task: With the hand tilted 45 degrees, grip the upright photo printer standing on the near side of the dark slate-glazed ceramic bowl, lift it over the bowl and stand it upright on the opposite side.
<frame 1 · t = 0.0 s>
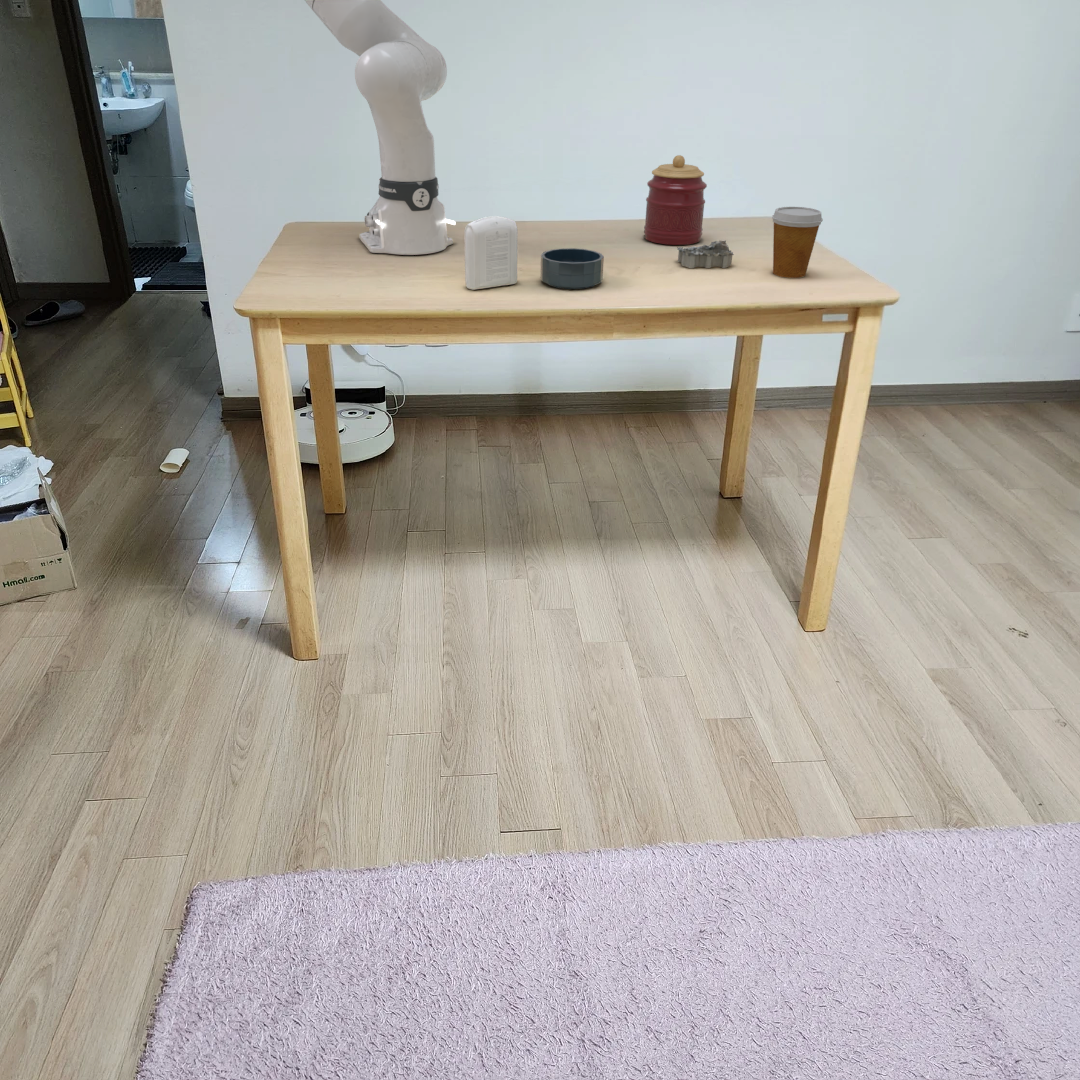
disposable coffee cup: (788, 275, 185), on the table
grey packaging insert: (704, 265, 191), on the table
bowl: (571, 282, 178), on the table
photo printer: (491, 286, 175), on the table
kitchen canister: (672, 240, 210), on the table
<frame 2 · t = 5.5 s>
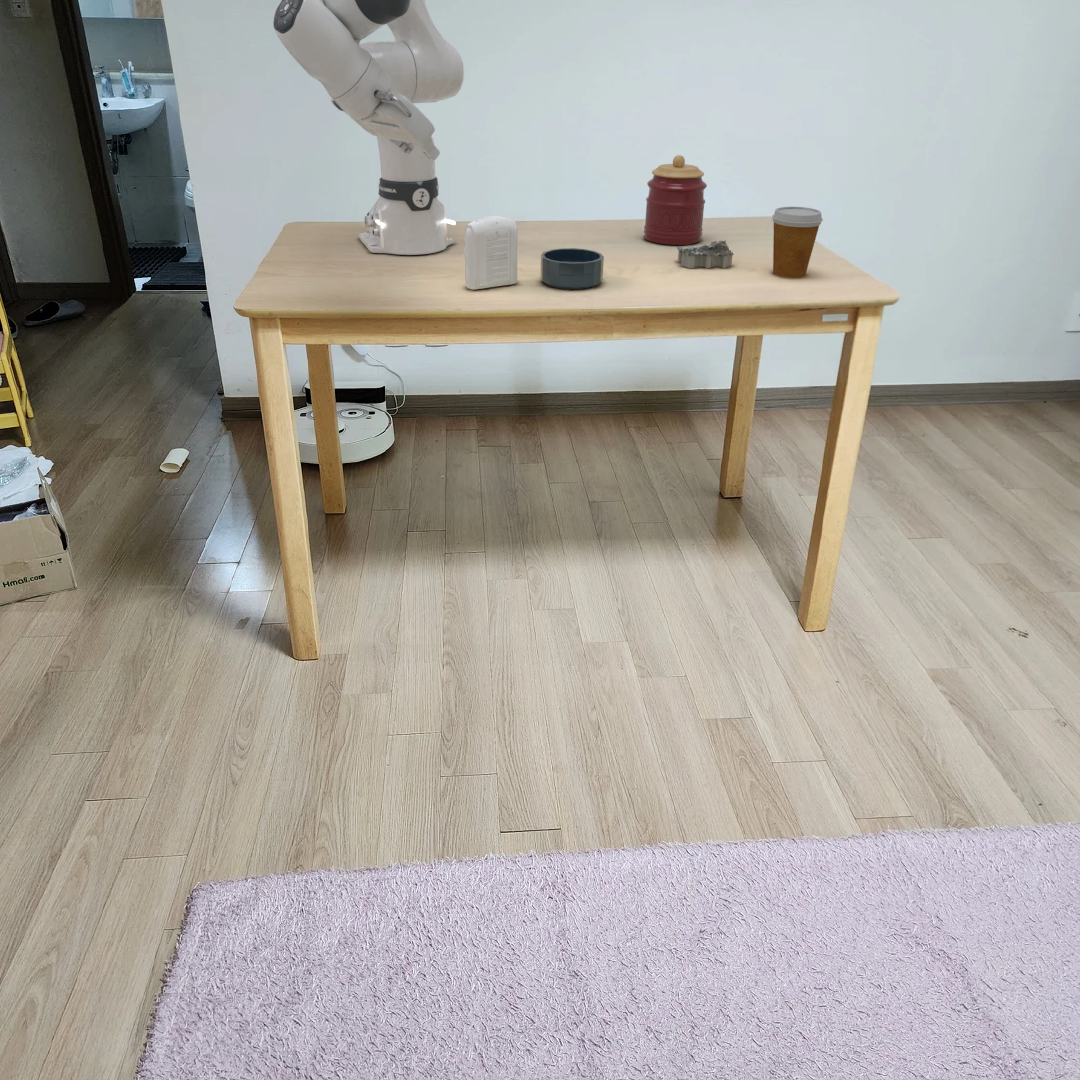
hand: (422, 153, 157), 24 cm above the table, tool tilted 45°, fingers open, 8 cm apart
nothing on the table moved.
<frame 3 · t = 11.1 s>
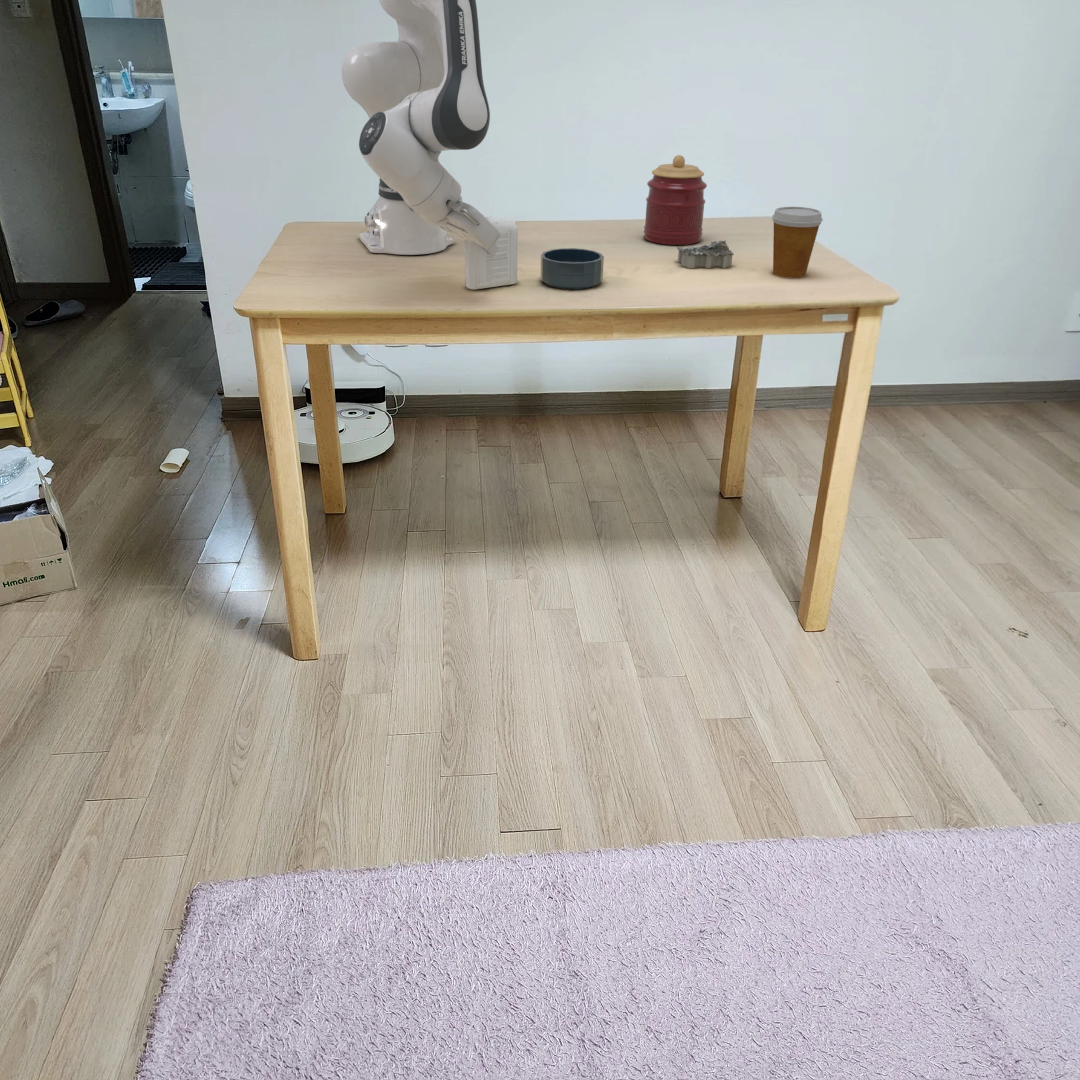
hand: (487, 248, 171), 7 cm above the table, tool tilted 45°, fingers closed on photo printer, 4 cm apart
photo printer: (491, 286, 175), on the table, touching gripper
everything else where it was.
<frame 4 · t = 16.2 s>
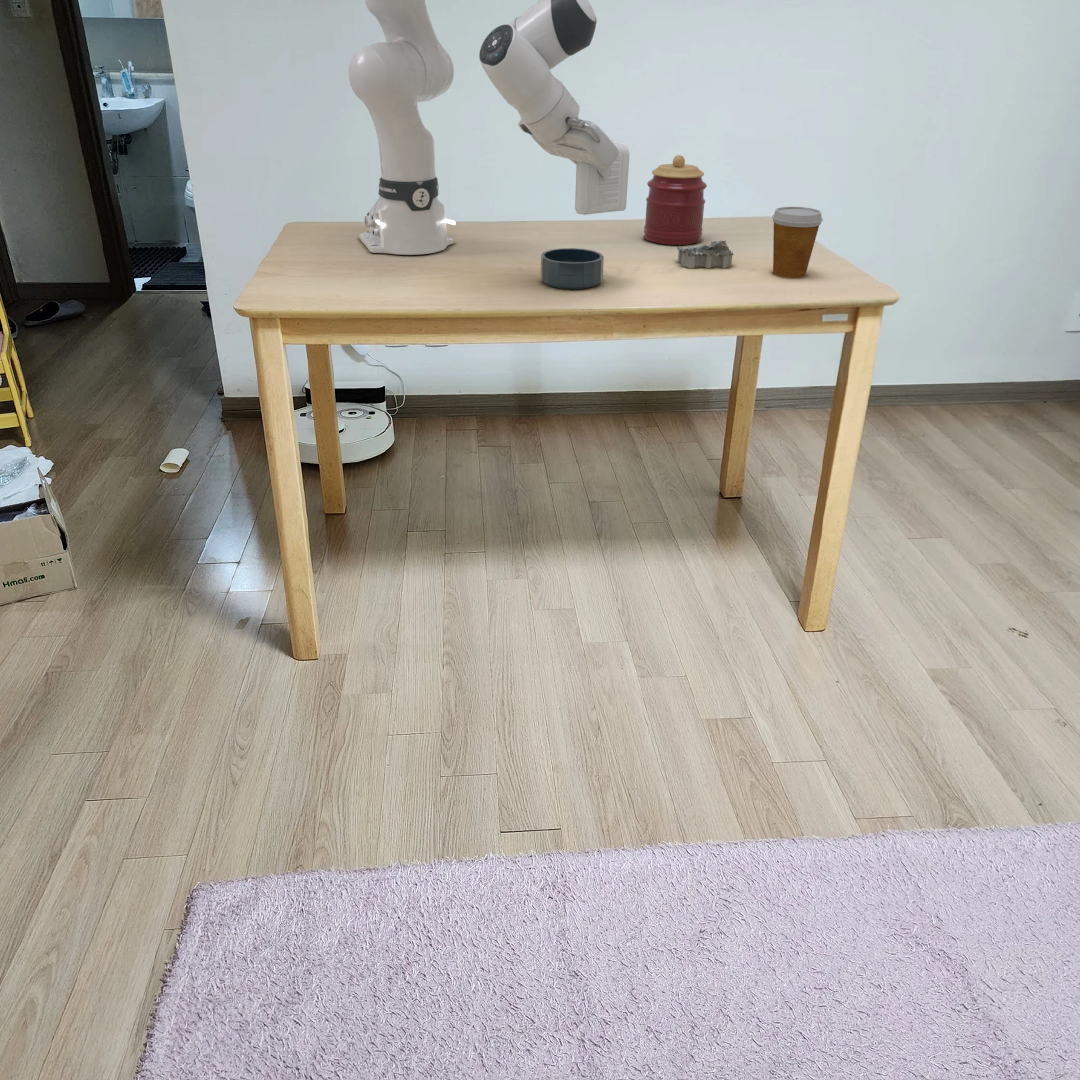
hand: (598, 172, 169), 20 cm above the table, tool tilted 45°, fingers closed on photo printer, 4 cm apart
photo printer: (600, 213, 173), point 12 cm above the table, touching gripper
everything else where it was.
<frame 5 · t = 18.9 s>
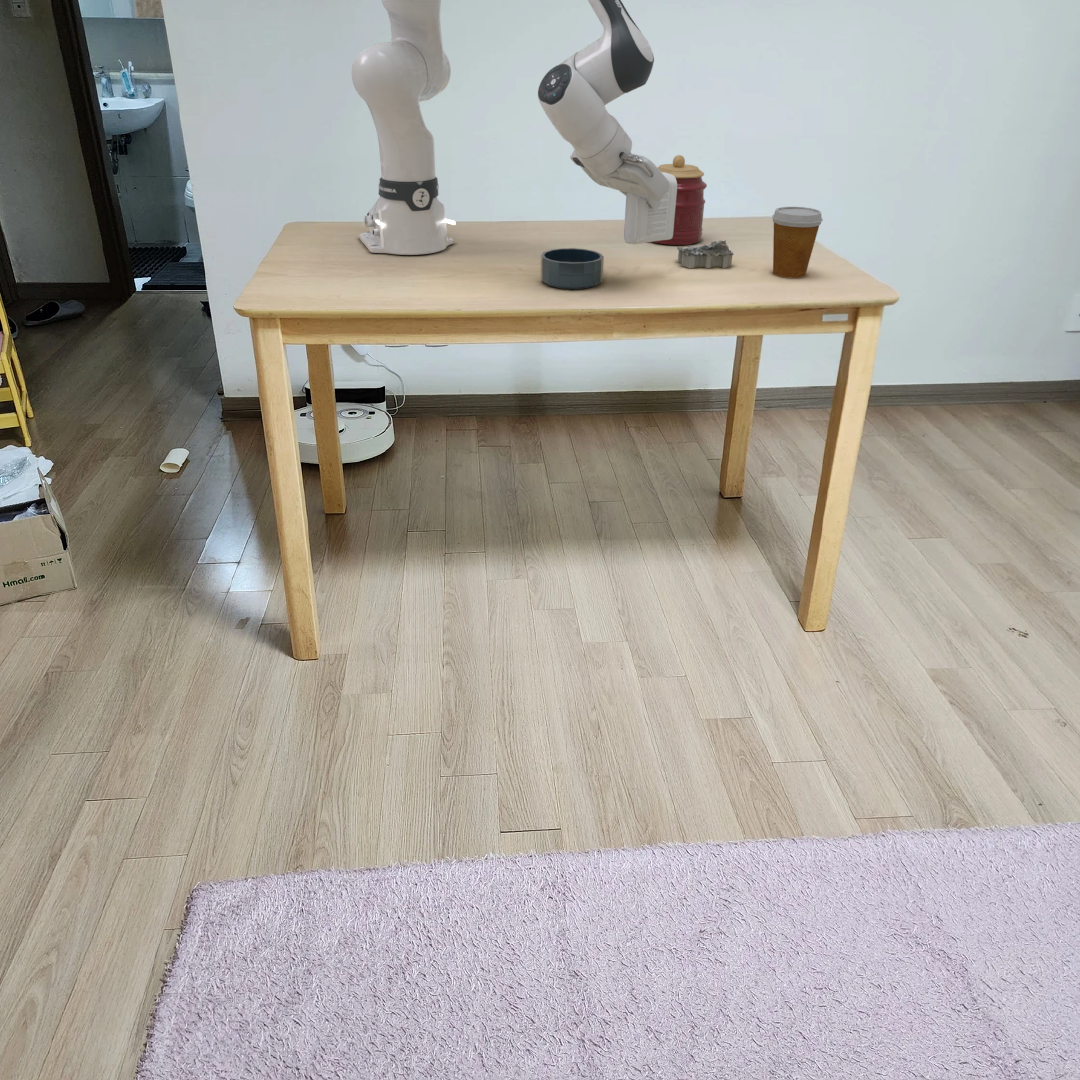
hand: (647, 203, 174), 14 cm above the table, tool tilted 45°, fingers closed on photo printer, 4 cm apart
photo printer: (648, 241, 178), point 7 cm above the table, touching gripper
everything else where it was.
when the fingers open (7 cm above the table, at t = 21.2 s): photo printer stays where it is, on the table.
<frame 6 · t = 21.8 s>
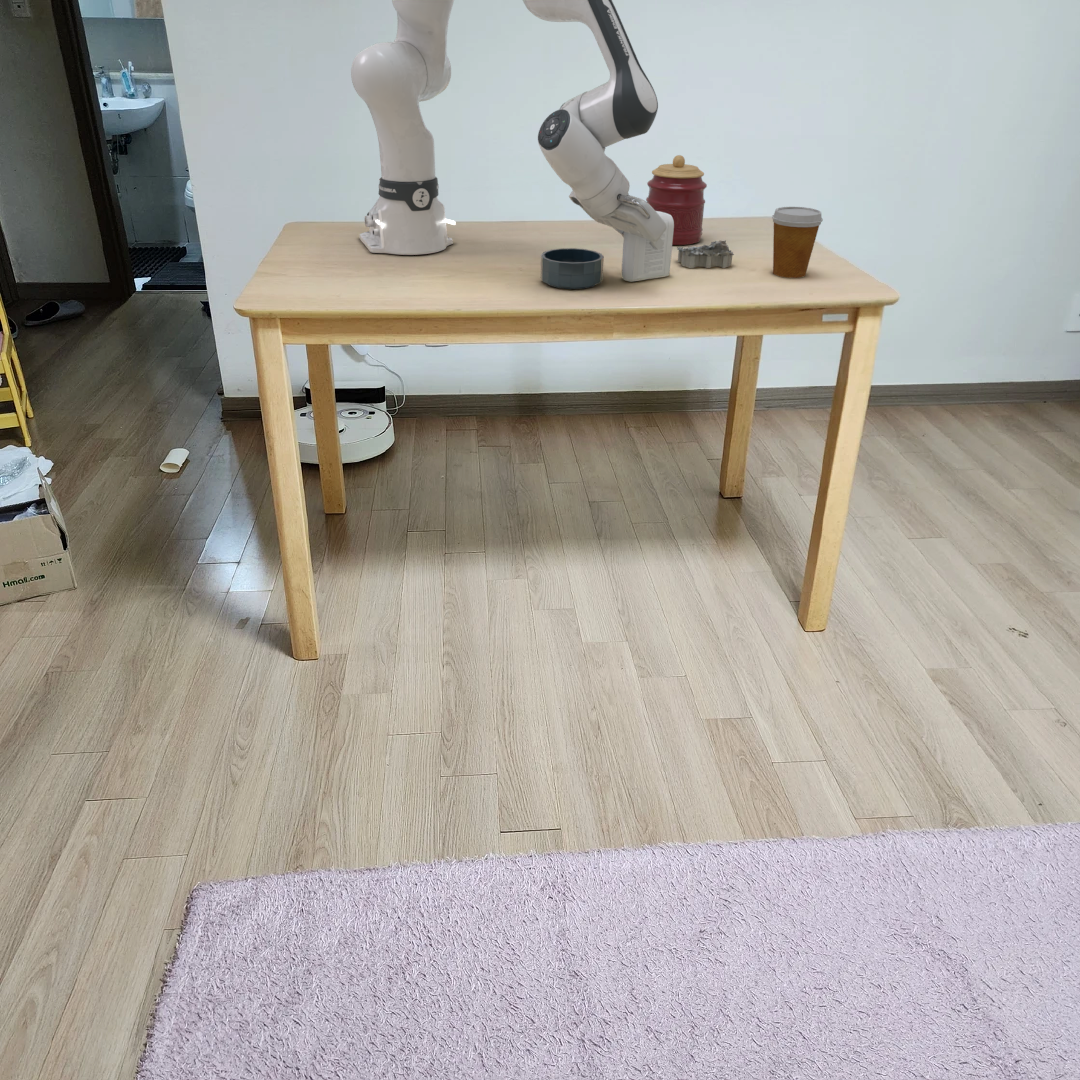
hand: (644, 241, 177), 7 cm above the table, tool tilted 45°, fingers open, 8 cm apart
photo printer: (645, 278, 181), on the table
everything else where it was.
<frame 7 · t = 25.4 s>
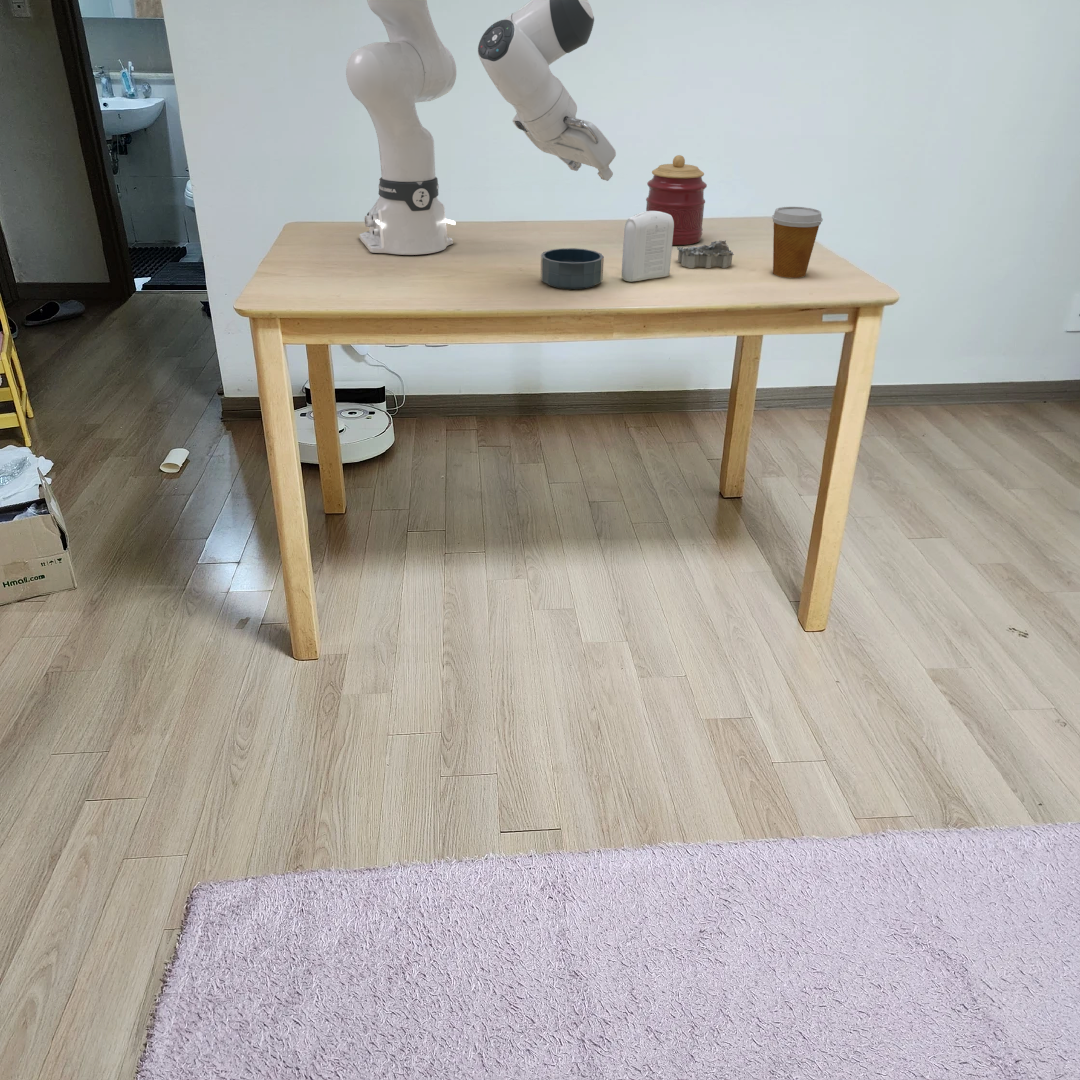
hand: (592, 172, 167), 20 cm above the table, tool tilted 45°, fingers open, 8 cm apart
nothing on the table moved.
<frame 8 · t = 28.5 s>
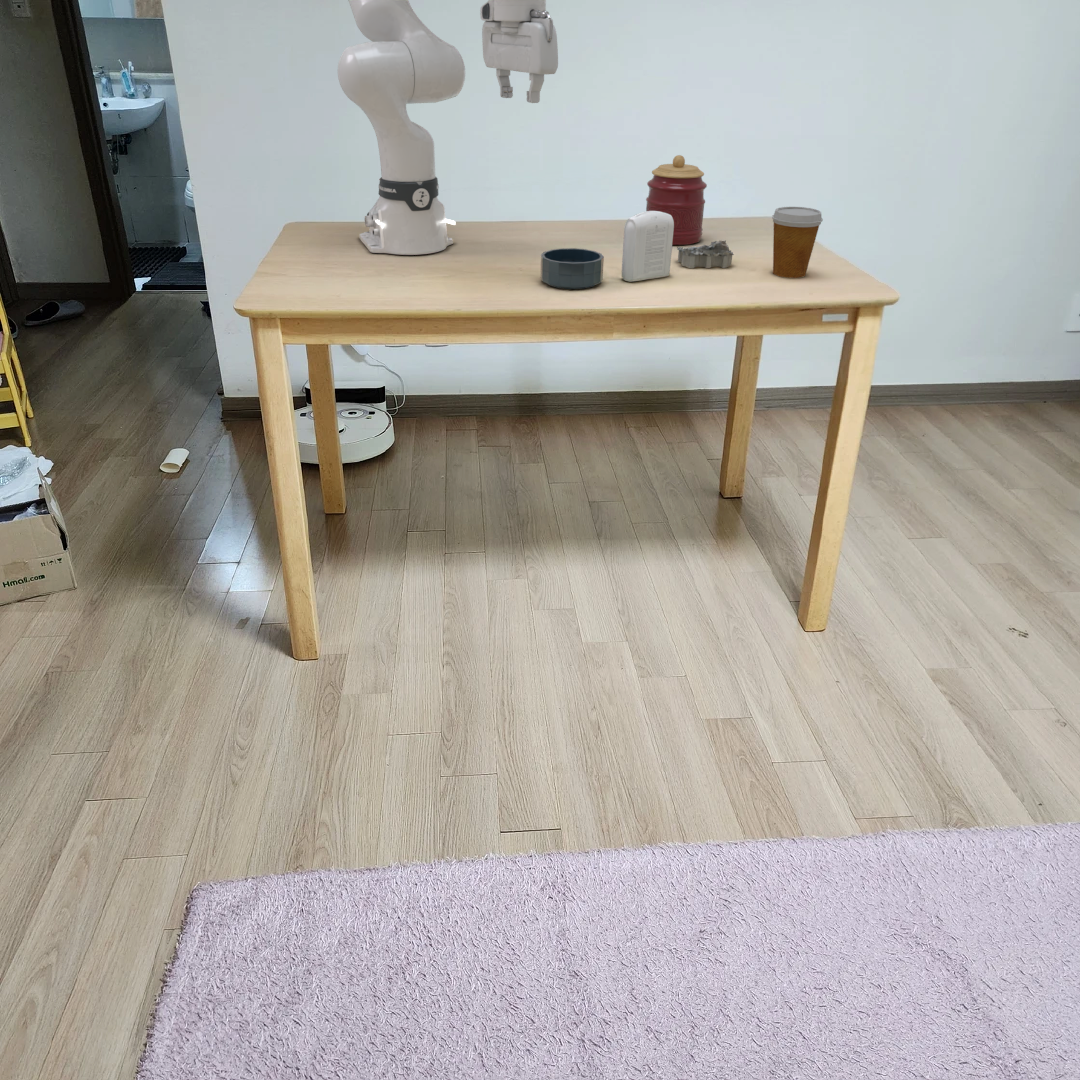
hand: (519, 100, 164), 31 cm above the table, tool pointing down, fingers open, 8 cm apart
nothing on the table moved.
at the end: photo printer inside the target area on the table beside the bowl (1.4 cm from its centre), on the table; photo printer tilted 0°; the gripper is holding nothing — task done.
